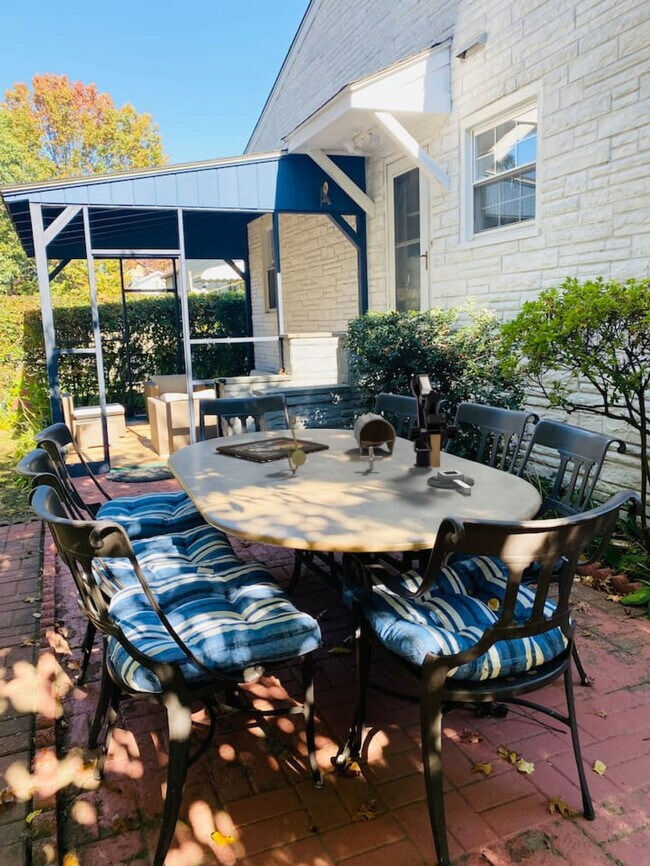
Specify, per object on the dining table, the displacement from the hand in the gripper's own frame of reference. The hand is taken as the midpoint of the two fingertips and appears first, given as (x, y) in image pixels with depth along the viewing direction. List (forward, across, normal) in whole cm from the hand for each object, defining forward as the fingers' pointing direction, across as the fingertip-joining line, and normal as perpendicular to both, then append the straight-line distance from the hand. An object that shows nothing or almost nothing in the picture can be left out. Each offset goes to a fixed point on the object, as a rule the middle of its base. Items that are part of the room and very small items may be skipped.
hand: (436, 450), depth 250 cm
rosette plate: (+11, +7, +8) cm, 15 cm away
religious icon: (-45, -72, +66) cm, 107 cm away
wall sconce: (-12, -58, +32) cm, 67 cm away
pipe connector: (-11, -24, +30) cm, 40 cm away
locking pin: (+4, 0, +6) cm, 7 cm away
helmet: (-40, -20, +60) cm, 75 cm away
